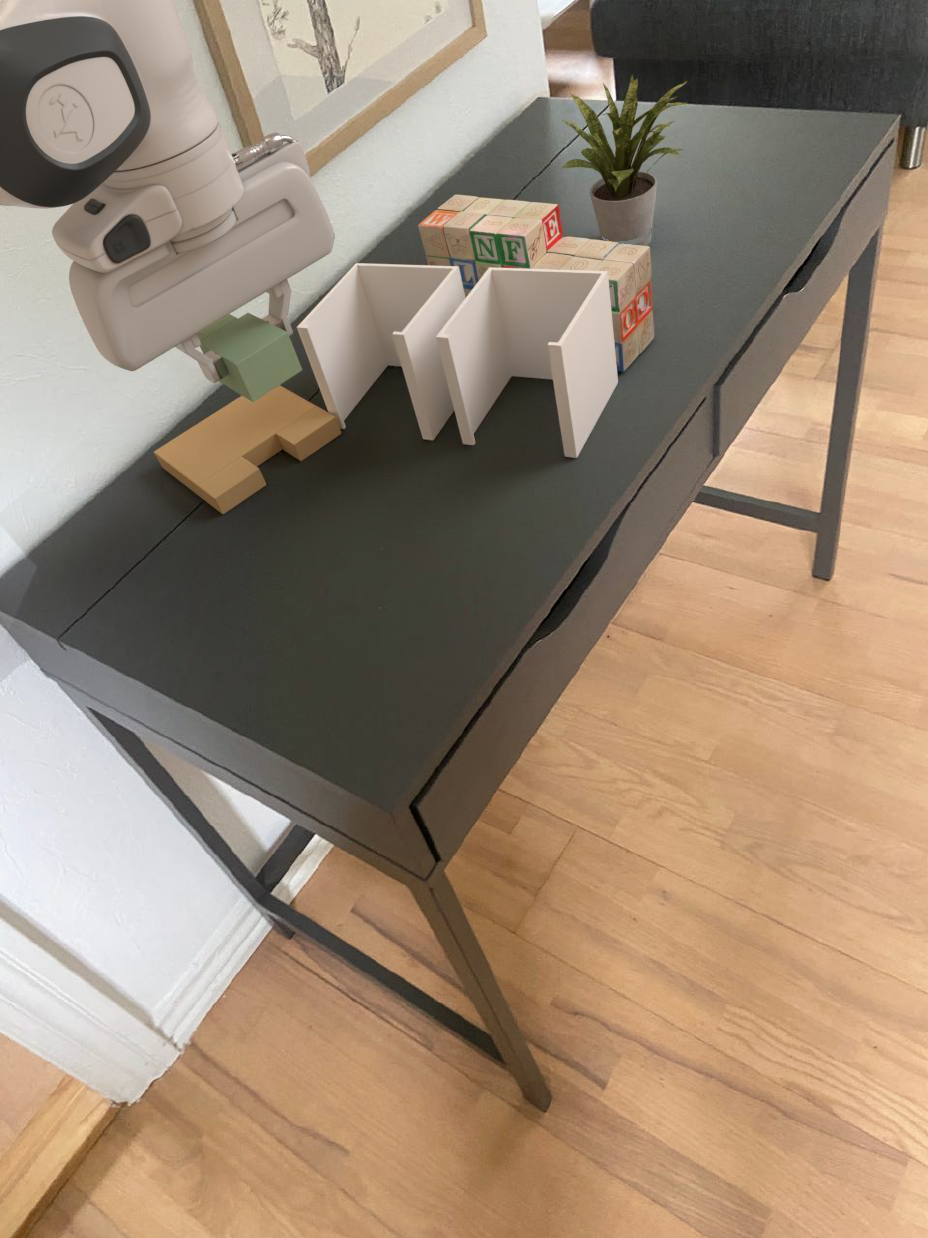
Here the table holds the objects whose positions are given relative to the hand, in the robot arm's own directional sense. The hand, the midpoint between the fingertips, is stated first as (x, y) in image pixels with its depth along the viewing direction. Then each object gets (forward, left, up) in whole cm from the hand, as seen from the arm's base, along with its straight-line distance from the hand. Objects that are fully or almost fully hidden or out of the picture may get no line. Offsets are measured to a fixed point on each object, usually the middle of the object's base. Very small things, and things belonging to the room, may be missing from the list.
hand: (250, 357), depth 73 cm
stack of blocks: (+29, -2, -14) cm, 32 cm away
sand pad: (0, +10, -14) cm, 17 cm away
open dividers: (+17, -4, -14) cm, 22 cm away
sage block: (0, +1, -2) cm, 2 cm away
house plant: (+47, +2, -14) cm, 49 cm away
